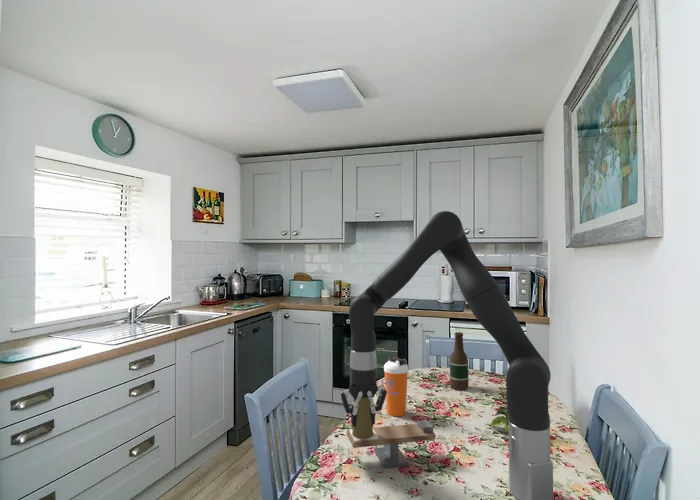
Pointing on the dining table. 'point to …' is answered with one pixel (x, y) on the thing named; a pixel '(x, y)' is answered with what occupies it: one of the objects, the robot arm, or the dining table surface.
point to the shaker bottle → (396, 386)
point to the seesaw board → (395, 435)
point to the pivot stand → (391, 456)
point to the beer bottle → (459, 365)
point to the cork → (363, 420)
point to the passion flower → (501, 418)
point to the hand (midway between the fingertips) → (363, 425)
